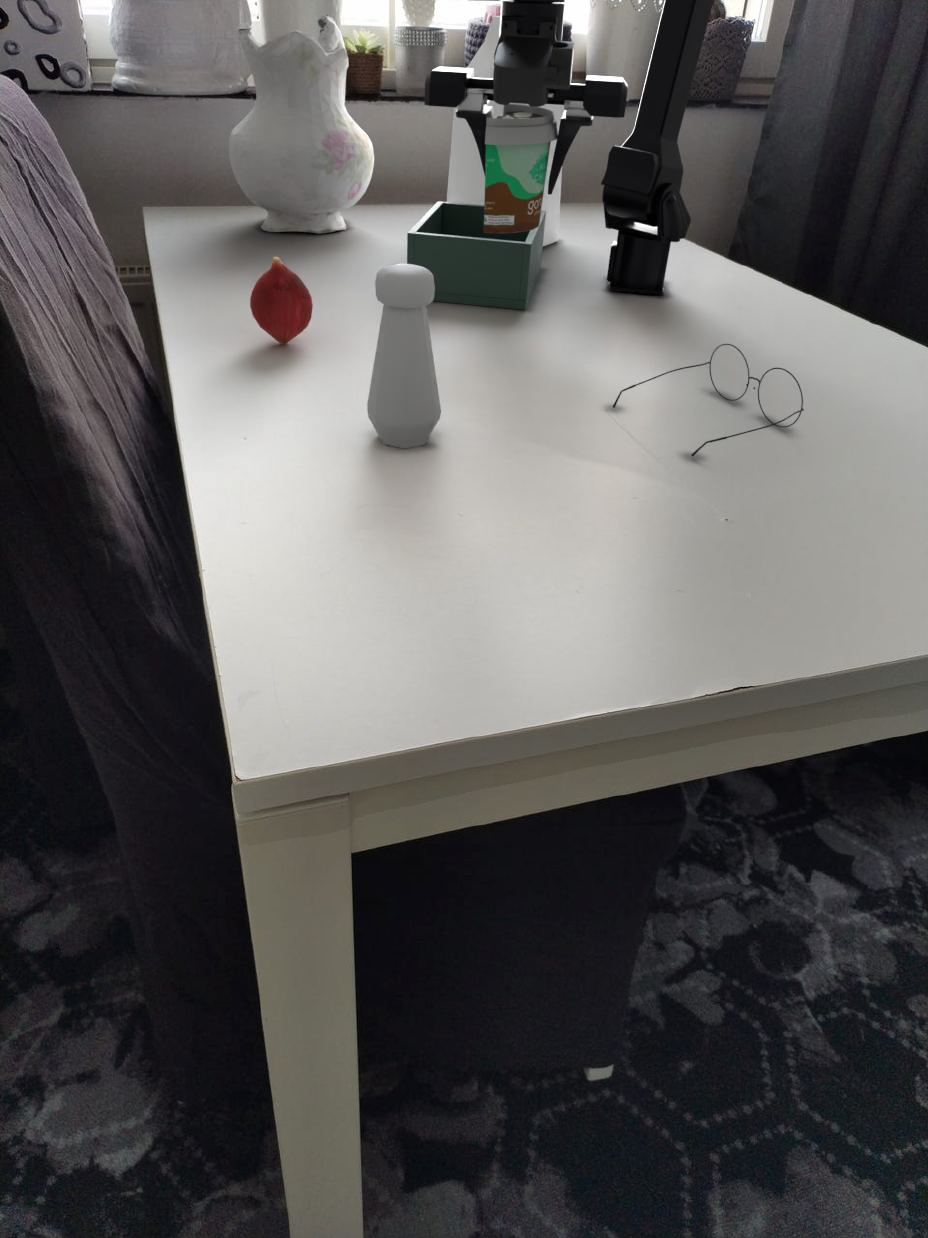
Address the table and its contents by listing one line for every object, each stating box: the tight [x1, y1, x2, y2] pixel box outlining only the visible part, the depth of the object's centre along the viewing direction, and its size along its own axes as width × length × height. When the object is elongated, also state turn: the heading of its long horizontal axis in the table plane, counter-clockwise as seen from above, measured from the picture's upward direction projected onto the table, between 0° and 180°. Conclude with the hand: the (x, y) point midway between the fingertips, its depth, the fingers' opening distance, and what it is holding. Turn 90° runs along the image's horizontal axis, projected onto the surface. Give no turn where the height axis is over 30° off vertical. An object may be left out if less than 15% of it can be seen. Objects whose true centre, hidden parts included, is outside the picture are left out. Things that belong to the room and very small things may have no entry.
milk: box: [445, 15, 566, 247], centre depth 117 cm, size 12×12×26 cm
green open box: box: [406, 200, 546, 311], centre depth 105 cm, size 14×18×7 cm
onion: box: [249, 256, 314, 345], centre depth 84 cm, size 6×6×8 cm
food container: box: [484, 104, 558, 233], centre depth 87 cm, size 12×6×10 cm, turn 170°
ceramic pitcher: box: [228, 14, 375, 235], centre depth 120 cm, size 22×20×25 cm
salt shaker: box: [366, 263, 442, 450], centre depth 67 cm, size 6×6×13 cm
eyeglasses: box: [612, 343, 805, 457], centre depth 74 cm, size 11×13×5 cm
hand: (519, 191), depth 89 cm, fingers closed on food container, 6 cm apart
